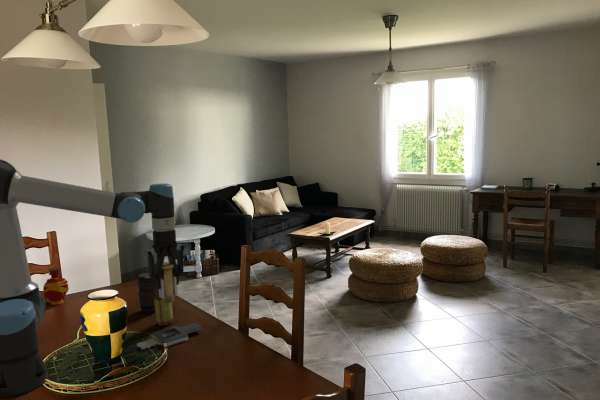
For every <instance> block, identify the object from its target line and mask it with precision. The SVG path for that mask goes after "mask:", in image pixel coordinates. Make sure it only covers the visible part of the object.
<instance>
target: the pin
mask: <svg viewBox="0 0 600 400" xmlns="http://www.w3.org/2000/svg"><path fill="white" fill-rule="evenodd" d="M173 267H174V264H172V263H170V262H169V261H168V262H163V266H161V268H162V275H161V279H163V281H164V297H165V298H164V299H162V301H163V302H164V303H170V302H172V303H173V302H175V295H174V283H173Z"/></svg>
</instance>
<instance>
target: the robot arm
mask: <svg viewBox="0 0 600 400" xmlns="http://www.w3.org/2000/svg"><path fill="white" fill-rule="evenodd" d="M174 199H175V197H174V189H173V185H172V184H170V183H154V184H150V185H149V188H148V190H142V191H121V192H113V191H109V190H108V191H107V190H103V189H96V188H91V187H87V186H86V187H85V186H81V185H75V184H70V183H64V182H59V181H55V180H49V179H43V178H39V177H38V178H37V177H32V176H26V175H22V173H20V171H19V170H17V169H16V167H14V165H13V164H11V163H10V162H8V161H6V160H4V159H1V158H0V398H11V397H16V396H20V395H23V394H25V393H28V392H30V391H33V390H35V389H37V388H39V387H41V386H42V385H44V383H45V382H46V381H45V379H47V380H48V377H49V374H48V368H47V366H46V364H45V362H44V360H43V359H42V357H41V354H40V353H39V344H38V335H37V333H38V327H39V325H40V323H41V321H42V319H43V318H44V316H45V311H46V302H45V299H44V298H43V295H42V294H41V293H40V288H39V285H38V283H36V282H34V281H33V280H32V276H31V272H30V269H29V268H30V267H29V263H28V258H27V257H28V256H27V253H26V248H25V247H26V246H25V243H24V239H23V234H22V230H21V229H22V227H21V224H20V220H19V219H20V218H19V215H18V209H17V206H18V204H19V203H20V204H21V203H22V204H28V205H34V206H40V207H45V208H46V207H47V208H52V209H58V210H65V211H71V212H76V213H82V214H88V215H89V214H90V215H96V216H103V217H107V218H112V219H118V220H122V221H124V222H126V223H136V222H139V221H140V220H142V218H143V217H144V215H145V214H150V215H151V228H152V230H153V231H152V241H153V245H152V248H150V249H147V250H145V251H144V254H145V256H146V258H147V265H148V273H149V276H150V278H151V279H153V280H154V279H155V280H156V288H157V289H159V297H160V298H162V299H164V298H165V297H164V281H163V279H161V275H162V268H161V266H163V263H164V261H165V257H168V258H167V259H168V262H170V263H172V264H174V267H173V283H174V297H176V296H178V287H177V286H178V285H179V284H180V282H179V281H180V280H179V279H180V278H179V277H180V276H181V274H183V273H184V250H185V248H186V247H185V245H184V244H180V243H178V242H177V233H176V231H177V230H176V229H175V228H176V220H175V219H176V218H175V200H174ZM175 251H176V256H175ZM154 252H155V253H154ZM155 254H156V262H155V258H154V255H155ZM155 264H156V265H155ZM44 381H45V382H44Z"/></svg>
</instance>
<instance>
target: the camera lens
mask: <svg viewBox="0 0 600 400" xmlns="http://www.w3.org/2000/svg"><path fill="white" fill-rule="evenodd" d="M137 281H138V282H137V284H138V285H137V286H138V297H139V307H140V309H141V312H142V314H155V304H154V289H155V287H156V280H155V279H154V280H153V279H151V278H150V276H149V272H146V273H141V274H139V275H138V279H137Z"/></svg>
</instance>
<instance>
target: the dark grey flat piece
mask: <svg viewBox="0 0 600 400" xmlns="http://www.w3.org/2000/svg"><path fill="white" fill-rule="evenodd" d="M202 329H203V327H202V325H200V324H199V323H197V322H194V323H191V324H187V325H183V326H177V325H175V326H171V327H168V328H164V329H161V330H157V331H153V332H152V337H153V336H154V337H155V338H157V339H158V340H159V341H157V340H156V339H153V338H150V339H146V340H144V341H141V342H138V343H136V347H137V346H138V347H140V348H141V349H142V350H143V349H145V348H148V347H151V346H154V345H156V344H158V343H160V342H161V343H163V344H164V343H166V345H167V347H171V346H173V345H177V344H179V343H183V342H186V341H189V334H191V333H194V332H199V331H201V330H202ZM138 347H137V348H138Z"/></svg>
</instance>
